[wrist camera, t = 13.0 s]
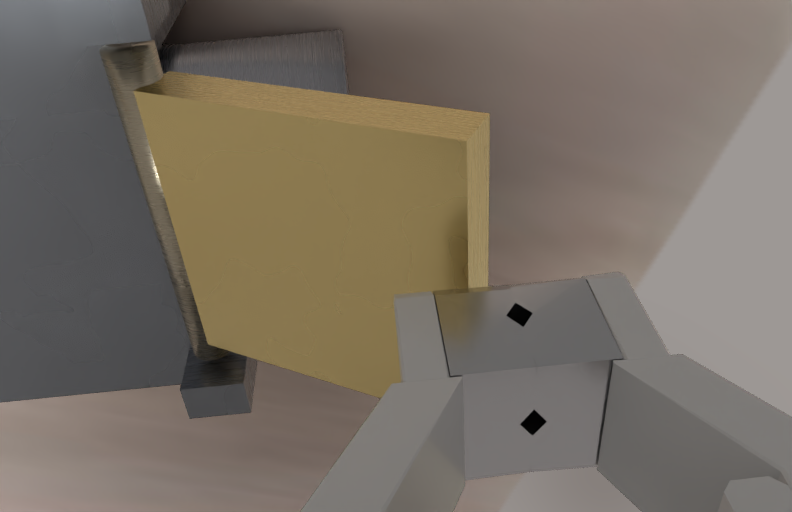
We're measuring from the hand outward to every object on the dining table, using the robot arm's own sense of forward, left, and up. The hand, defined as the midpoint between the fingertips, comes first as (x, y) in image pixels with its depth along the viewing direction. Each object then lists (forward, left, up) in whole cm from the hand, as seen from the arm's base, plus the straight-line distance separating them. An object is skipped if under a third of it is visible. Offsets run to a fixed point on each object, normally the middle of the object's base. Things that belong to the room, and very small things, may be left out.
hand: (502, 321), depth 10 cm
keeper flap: (0, +3, -3) cm, 4 cm away
